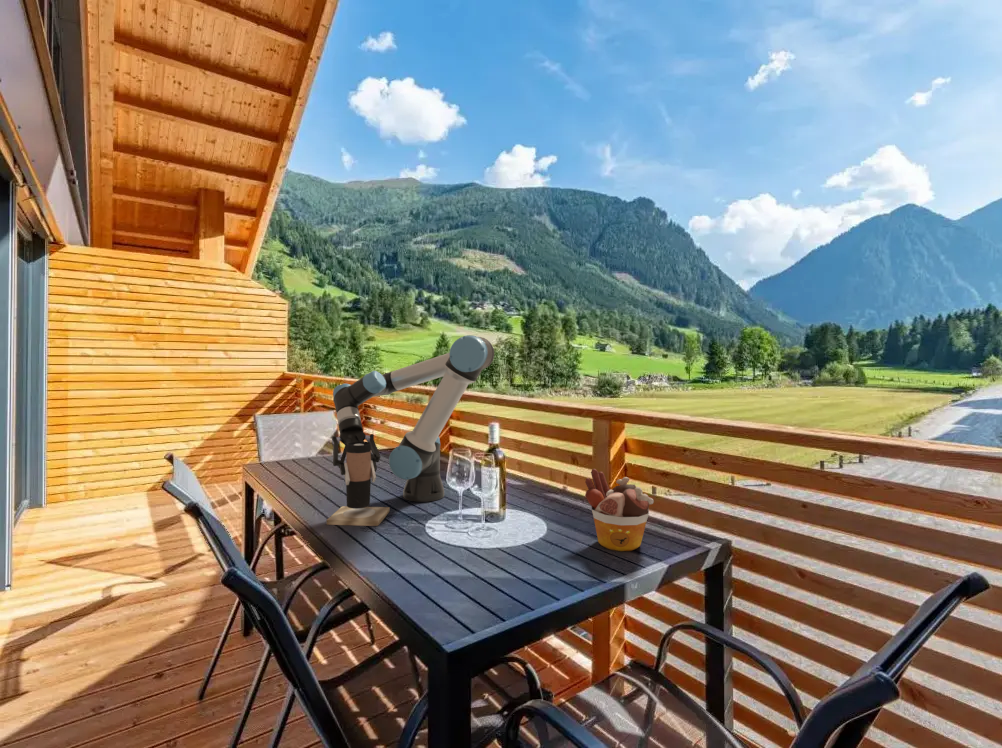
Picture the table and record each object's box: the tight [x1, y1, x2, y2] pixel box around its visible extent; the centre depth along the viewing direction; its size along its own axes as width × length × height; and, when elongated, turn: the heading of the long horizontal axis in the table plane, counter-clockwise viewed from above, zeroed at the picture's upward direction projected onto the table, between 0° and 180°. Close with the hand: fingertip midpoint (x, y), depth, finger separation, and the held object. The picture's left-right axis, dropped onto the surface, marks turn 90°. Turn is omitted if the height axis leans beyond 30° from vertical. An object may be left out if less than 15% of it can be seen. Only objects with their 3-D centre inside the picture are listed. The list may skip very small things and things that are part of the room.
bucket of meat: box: [584, 468, 654, 552], centre depth 143 cm, size 20×16×20 cm
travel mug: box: [345, 441, 372, 509], centre depth 163 cm, size 8×8×20 cm
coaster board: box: [326, 505, 390, 527], centre depth 163 cm, size 16×14×2 cm
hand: (361, 481), depth 160 cm, fingers closed on travel mug, 7 cm apart
